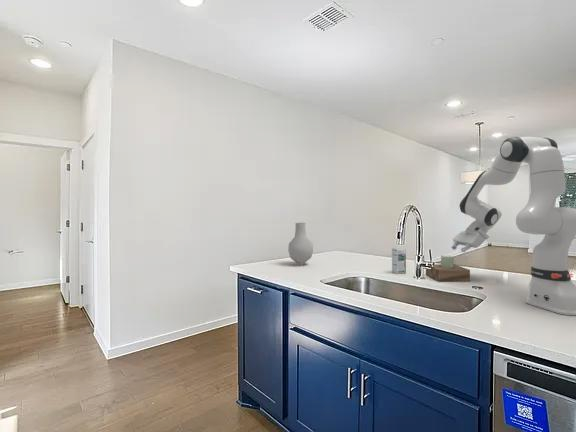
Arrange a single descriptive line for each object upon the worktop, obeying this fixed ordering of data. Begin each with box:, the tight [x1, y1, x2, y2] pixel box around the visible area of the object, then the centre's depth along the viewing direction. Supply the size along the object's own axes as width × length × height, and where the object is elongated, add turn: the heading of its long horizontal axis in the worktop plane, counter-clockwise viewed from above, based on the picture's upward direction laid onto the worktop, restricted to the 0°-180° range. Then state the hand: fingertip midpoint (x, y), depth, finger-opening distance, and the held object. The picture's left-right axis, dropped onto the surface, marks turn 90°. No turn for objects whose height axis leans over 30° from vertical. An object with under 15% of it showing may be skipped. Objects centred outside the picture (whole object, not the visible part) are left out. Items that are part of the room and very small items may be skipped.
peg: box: [440, 255, 454, 268], centre depth 178 cm, size 4×4×12 cm
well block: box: [425, 263, 471, 283], centre depth 178 cm, size 16×16×6 cm
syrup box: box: [391, 247, 407, 275], centre depth 193 cm, size 6×6×14 cm
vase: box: [288, 222, 314, 266], centre depth 220 cm, size 17×16×28 cm
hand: (457, 250), depth 178 cm, fingers open, 8 cm apart
